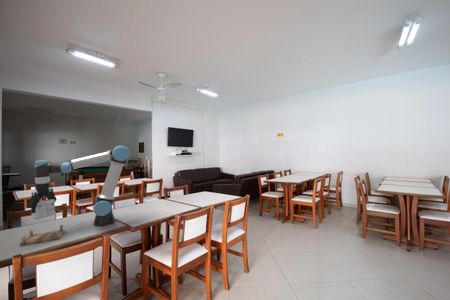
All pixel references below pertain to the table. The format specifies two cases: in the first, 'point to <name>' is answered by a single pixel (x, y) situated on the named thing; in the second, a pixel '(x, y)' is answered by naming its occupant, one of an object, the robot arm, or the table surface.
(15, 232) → the table surface
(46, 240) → the dowel base
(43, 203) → the light bulb box
